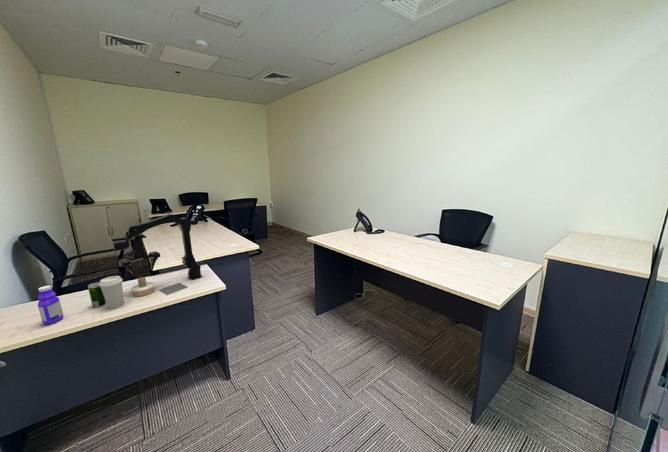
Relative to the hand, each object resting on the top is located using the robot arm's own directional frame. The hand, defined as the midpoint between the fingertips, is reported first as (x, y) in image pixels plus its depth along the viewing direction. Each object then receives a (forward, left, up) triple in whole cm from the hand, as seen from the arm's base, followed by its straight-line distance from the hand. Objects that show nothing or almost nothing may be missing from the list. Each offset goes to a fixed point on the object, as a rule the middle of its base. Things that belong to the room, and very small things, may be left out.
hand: (143, 272), depth 151 cm
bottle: (+38, -2, -12) cm, 40 cm away
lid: (+2, +1, -8) cm, 8 cm away
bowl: (+2, +1, -12) cm, 12 cm away
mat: (-10, +10, -12) cm, 19 cm away
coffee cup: (+16, +5, -12) cm, 21 cm away
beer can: (+21, -3, -12) cm, 24 cm away
